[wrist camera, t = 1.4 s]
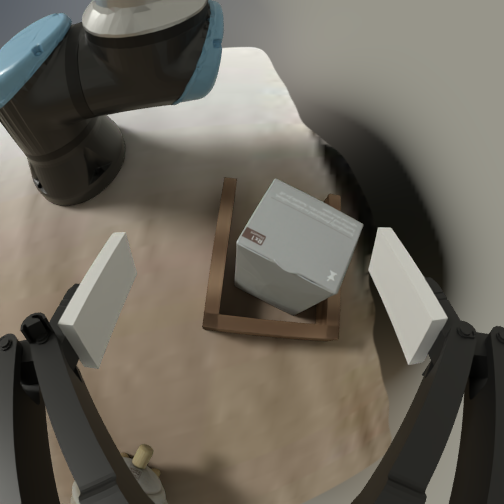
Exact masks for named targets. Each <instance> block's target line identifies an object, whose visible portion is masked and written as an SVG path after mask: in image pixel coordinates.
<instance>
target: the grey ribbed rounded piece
mask: <svg viewBox="0 0 504 504" xmlns="http://www.w3.org/2000/svg"><path fill="white" fill-rule="evenodd" d="M152 455H153V449H152V448H151V447H150V446H148V445H146V444H142V445H140V446H139V448H138V450H137V452H136V454H135V456H134V458H133V459H131V458H129V456H128V455H127V454H126V453H121V456H122V457H123V459H124V461H125V462H126V464H127V466H128V467H129V469H130V470H131V472H132V474H133V475H134V477H135V478H136V480H137V481H138V483H139V484H140V486H141V487H142V489H143V490H144V492H145V493H146V494H147V495H148V497H149V498H150V499H151V500H152V501H153V502H154V503H155V504H168V502H167V500H166V493H165V490H164V488H163V486H162V484H161V481H160V479H159V476H160V471H159V470H158V469H156V468H153V469H150V468H149V467H148V466H147V464H148V462H149V460H150V458H151V457H152ZM79 495H80V490H79V488H78V486H77V484H76V482H75V481H74V483H73V486H72V496H71V504H80V503H79V498H78V497H79Z"/></svg>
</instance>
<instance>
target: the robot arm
mask: <svg viewBox="0 0 504 504" xmlns="http://www.w3.org/2000/svg"><path fill="white" fill-rule="evenodd" d="M71 22H72V21H71V19H70V18H69V17H68V16H67V15H66V14H64V13H60V14H52V15H49V16H46V17H44V18H42V19H40V20H38V21H36V22H34V23H33V24H31V25H29V26H28V27H26V28H25V29H23V30H22V31H21V32H19V33H18V34H17V35H15V36H14V37H13V38H12V39H11V40H9V42H7V43H6V44H5V45H4V46H3V47H2V48H1V49H0V122H1V123H2V125H3V126H4V128H5V129H6V130H7V132H8V133H9V134H10V136H11V137H12V138H13V139H14V141H15V142H16V143H17V145H18V146H19V147H20V149H21V150H22V151H23V152H24V154H25V155H26V156H27V159H28V163H29V167H30V170H31V174H32V178H33V181H34V184H35V186H36V187H37V189H38V190H39V192H40V193H41V194H42V195H43V196H44V197H45V198H46V199H47V200H48V201H50V202H52V203H54V204H57V205H64V206H67V205H75V204H79V203H82V202H84V201H87V200H89V199H91V198H92V197H94V196H96V195H97V194H99V193H100V192H101V191H102V190H104V189H105V188H106V187H107V186H108V185H109V184H110V183H111V181H112V180H113V179H114V178H115V176H116V175H117V173H118V172H119V170H120V168H121V166H122V163H123V160H124V156H125V143H124V140H123V137H122V134H121V131H120V129H119V128H118V126H117V125H116V123H115V122H114V121H113V120H111V119H110V118H109V117H108V116H107V115H109V114H114V113H119V112H125V111H131V110H137V109H143V108H150V107H157V106H165V105H176V104H178V103H180V102H186V101H191V100H197V99H201V98H203V97H205V96H206V95H207V94H208V93H209V92H210V91H211V90H212V88H213V86H214V84H215V82H216V78H217V75H218V71H219V66H220V61H221V54H222V47H221V43H222V38H223V30H224V28H223V27H224V23H223V12H222V8H221V6H220V4H219V3H218V2H216V1H212V0H92V2H91V3H90V5H89V6H88V7H87V8H86V10H85V11H84V13H83V16H82V22H80V23H78V24H73V25H71ZM369 272H370V274H371V276H372V278H373V281H374V283H375V285H376V287H377V290H378V292H379V294H380V296H381V299H382V300H383V303H384V306H385V308H386V310H387V312H388V315H389V317H390V320H391V322H392V324H393V327H394V329H395V332H396V334H397V337H398V339H399V342H400V344H401V346H402V349H403V352H404V355H405V357H406V360H407V363H408V365H410V364H417V363H422V362H424V360H425V358H426V357H427V355H428V354H429V356H430V359H431V362H430V363H429V365H428V366H427V368H426V369H425V371H424V373H423V374H422V375H423V376H424V377H423V380H422V382H421V384H420V386H419V389H418V391H417V393H416V395H415V398H414V400H413V402H412V404H411V406H410V408H409V410H408V412H407V414H406V417H405V418H404V421H403V422H402V424H401V426H400V428H399V430H398V432H397V434H396V436H395V438H394V439H393V441H392V443H391V445H390V447H389V448H388V450H387V452H386V454H385V455H384V457H383V459H382V461H381V462H380V464H379V466H378V467H377V469H376V470H375V472H374V473H373V475H372V477H371V478H370V480H369V481H368V483H367V484H366V486H365V487H364V489H363V490H362V491H361V493H360V494H359V495H358V496H357V497H356V498H355V499H354V500H353V502H352V503H351V504H425V502H426V494H425V490H426V488H427V485H428V483H429V481H430V479H431V477H432V475H433V473H434V471H435V469H436V467H437V464H438V462H439V460H440V458H441V455H442V453H443V451H444V448H445V446H446V443H447V441H448V438H449V435H450V433H451V430H452V427H453V425H454V422H455V419H456V416H457V413H458V410H459V407H460V404H461V401H462V397H463V394H464V408H463V420H462V421H463V422H462V431H461V439H460V448H459V454H458V461H457V467H456V472H455V478H454V483H453V487H452V492H451V497H450V501H449V504H504V328H503V327H501V326H496V327H493V329H492V330H491V332H490V333H489V334H484V333H478V332H476V331H475V329H474V328H473V326H472V325H470V324H469V323H467V322H465V321H460V319H459V318H458V316H457V314H456V312H455V311H454V309H453V307H452V306H451V304H450V302H449V301H448V300H447V297H446V296H445V294H444V293H443V291H442V290H441V288H440V286H439V285H438V283H436V282H435V281H434V280H433V279H432V278H424V277H423V275H422V274H421V272H420V270H419V269H418V267H417V266H416V264H415V263H414V261H413V260H412V258H411V256H410V255H409V253H408V252H407V250H406V249H405V247H404V246H403V244H402V243H401V242H400V240H399V239H398V237H397V236H396V234H395V233H394V231H393V230H392V229H391V228H378V230H377V235H376V239H375V244H374V249H373V253H372V257H371V261H370V266H369ZM136 275H137V272H136V268H135V265H134V261H133V258H132V254H131V251H130V247H129V243H128V239H127V235H126V232H116V233H112V235H111V236H110V238H109V239H108V241H107V242H106V244H105V245H104V247H103V248H102V250H101V251H100V253H99V255H98V256H97V258H96V259H95V261H94V262H93V264H92V266H91V267H90V269H89V270H88V272H87V274H86V275H85V277H84V278H83V280H82V282H81V283H80V284H75V285H73V286H72V287H71V288H70V289H69V290H68V291H67V293H66V294H65V296H64V298H63V300H62V301H61V303H60V304H59V305H60V306H58V308H57V310H56V311H55V313H54V315H53V317H52V318H51V320H50V322H48V320H47V318H46V317H45V315H44V314H42V313H34V314H31V315H30V316H28V317H27V318H26V319H25V320H24V321H23V323H22V325H21V332H22V333H23V335H24V336H25V338H26V339H27V340H23V341H18V339H17V338H16V336H15V335H13V334H6V335H4V336H3V337H1V338H0V504H60V501H59V497H58V493H57V488H56V483H55V478H54V473H53V468H52V462H51V455H50V449H49V441H48V432H47V423H46V411H45V406H46V409H47V412H48V415H49V418H50V421H51V424H52V427H53V429H54V432H55V435H56V438H57V440H58V443H59V445H60V448H61V450H62V453H63V455H64V457H65V460H66V462H67V464H68V467H69V469H70V471H71V473H72V475H73V477H74V479H75V482H76V484H77V486H78V488H79V490H80V495H79V497H78V498H79V503H80V504H155V503H154V502H153V501H152V500H151V499H150V498H149V497H148V495H147V494H146V493H145V492H144V490H143V489H142V487H141V486H140V484H139V483H138V481H137V480H136V478H135V477H134V475H133V474H132V472H131V470H130V469H129V467H128V466H127V464H126V462H125V461H124V459H123V457H122V456H121V454H120V452H119V450H118V449H117V447H116V445H115V443H114V442H113V440H112V438H111V436H110V434H109V432H108V431H107V429H106V427H105V425H104V423H103V421H102V419H101V417H100V415H99V413H98V411H97V409H96V407H95V405H94V403H93V400H92V398H91V396H90V394H89V392H88V389H87V387H86V385H85V382H84V380H83V378H82V375H81V373H80V371H79V369H78V367H77V366H76V365H77V362H78V360H79V359H80V361H81V362H82V364H83V365H84V367H90V368H97V369H99V366H100V364H101V361H102V358H103V355H104V353H105V350H106V347H107V345H108V342H109V340H110V337H111V334H112V332H113V329H114V327H115V324H116V322H117V319H118V317H119V314H120V312H121V310H122V307H123V305H124V302H125V300H126V298H127V295H128V293H129V291H130V288H131V286H132V284H133V282H134V279H135V277H136Z"/></svg>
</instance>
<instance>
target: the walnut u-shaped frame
mask: <svg viewBox="0 0 504 504" xmlns="http://www.w3.org/2000/svg"><path fill="white" fill-rule="evenodd" d="M236 183H237V179H234V178H226V177H225V178H224V183H223V189H222V195H221V201H220V208H219V214H218V220H217V226H216V233H215V239H214V246H213V253H212V259H211V266H210V273H209V280H208V288H207V295H206V302H205V310H204V318H203V326H202V327H203V329H205V330H212V331H220V332H228V333H237V334H246V335H255V336H265V337H276V338H287V339H300V340H314V341H331V340H338V339H339V322H340V299H341V286H340V289H339V291H338V293H337V294H336V295H333V296H331V297H329V298H327V299H325V300H323V301H321V302H319V303H317V309H316V324H307V323H295V322H284V321H274V320H264V319H255V318H246V317H238V316H229V315H221V314H219V311H220V302H221V294H222V286H223V279H224V271H225V263H226V256H227V248H228V241H229V233H230V226H231V219H232V212H233V205H234V198H235V190H236ZM324 203H326V204H328V205H329V206H331V207H333V208H335V209H337V210H339V211H340V212H341V196H339V195H333V194H329V195H328V196H327V198H326V199H325V201H324Z"/></svg>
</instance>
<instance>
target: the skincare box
mask: <svg viewBox="0 0 504 504" xmlns="http://www.w3.org/2000/svg"><path fill="white" fill-rule="evenodd" d="M362 228H363V224H362V223H360V222H358V221H356V220H355V219H353V218H351V217H349V216H347V215H346V214H344V213H342V212H340V211H339V210H337V209H335V208H333V207H331V206H329V205H328V204H326V203H324V202H322V201H320V200H318V199H316V198H314V197H312V196H310V195H308V194H306V193H305V192H303V191H301V190H298V189H296V188H294V187H292V186H290V185H288V184H286V183H284V182H282V181H280V180H278V179H274V180H273V182H272V184H271V185H270V187H269V188H268V190H267V191H266V193H265V195H264V196H263V198H262V200H261V201H260V203H259V205H258V206H257V208H256V209H255V211H254V213H253V214H252V216H251V218H250V219H249V221H248V223H247V224H246V226H245V228H244V230H243V231H242V233H241V235H240V236H239V238H238V240H237V242H236V245H237V246H236V267H235V285H234V286H235V287H237V288H239V289H241V290H243V291H245V292H247V293H249V294H251V295H253V296H255V297H257V298H259V299H261V300H263V301H265V302H267V303H269V304H270V305H272V306H274V307H276V308H279V309H281V310H283V311H285V312H287V313H289V314H291V315H293V316H294V315H296V314H298V313H300V312H302V311H304V310H306V309H308V308H309V307H311V306H313V305H315V304H317V303H319V302H321V301H323V300H325V299H327V298H329V297H331V296H333V295H336V294H337V293H338V291H339V289H340V286H341V284H342V281H343V279H344V276H345V274H346V271H347V269H348V266H349V263H350V261H351V258H352V255H353V253H354V250H355V247H356V244H357V242H358V239H359V236H360V233H361V230H362Z"/></svg>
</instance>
